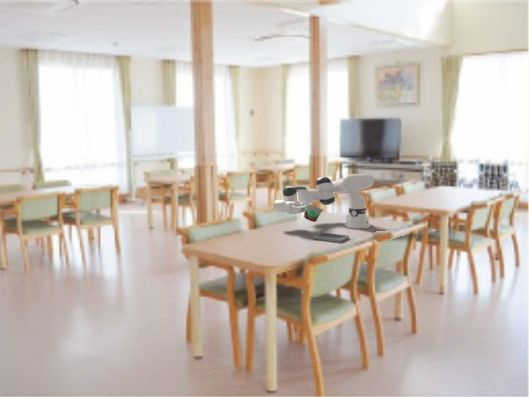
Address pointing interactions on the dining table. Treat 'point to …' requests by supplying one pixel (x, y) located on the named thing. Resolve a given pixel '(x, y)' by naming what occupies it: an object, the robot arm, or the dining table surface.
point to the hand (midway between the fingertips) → (312, 209)
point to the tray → (331, 237)
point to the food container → (312, 213)
